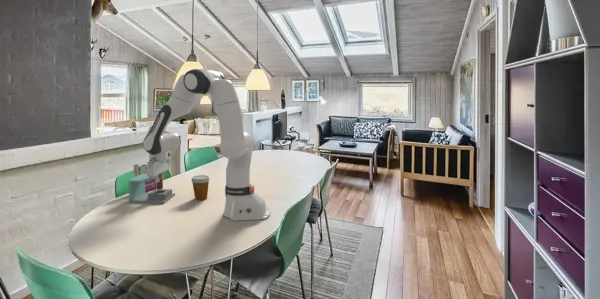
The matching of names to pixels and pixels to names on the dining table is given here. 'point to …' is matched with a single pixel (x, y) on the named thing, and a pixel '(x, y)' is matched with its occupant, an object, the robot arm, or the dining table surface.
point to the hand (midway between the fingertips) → (159, 181)
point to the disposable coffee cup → (200, 186)
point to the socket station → (140, 196)
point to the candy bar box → (142, 169)
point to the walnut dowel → (160, 184)
